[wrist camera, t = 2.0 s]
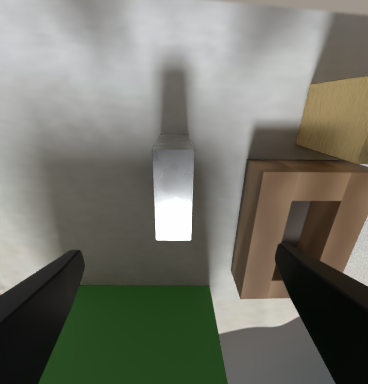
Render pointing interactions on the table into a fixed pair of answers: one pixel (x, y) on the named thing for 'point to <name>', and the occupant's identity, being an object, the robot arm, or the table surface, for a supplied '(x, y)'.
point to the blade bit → (173, 186)
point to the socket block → (296, 218)
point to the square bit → (337, 119)
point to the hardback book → (138, 337)
